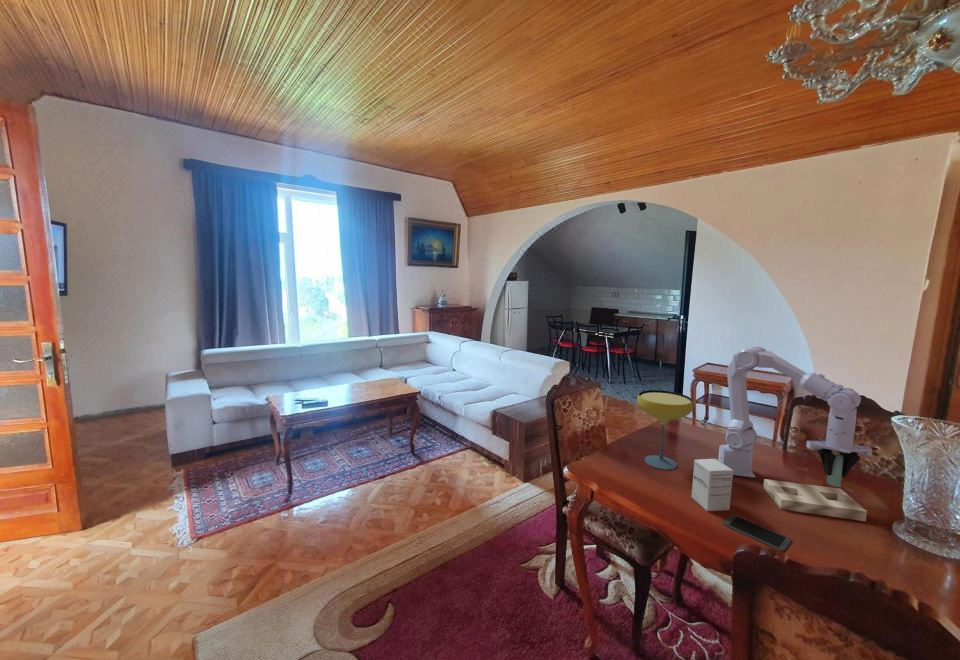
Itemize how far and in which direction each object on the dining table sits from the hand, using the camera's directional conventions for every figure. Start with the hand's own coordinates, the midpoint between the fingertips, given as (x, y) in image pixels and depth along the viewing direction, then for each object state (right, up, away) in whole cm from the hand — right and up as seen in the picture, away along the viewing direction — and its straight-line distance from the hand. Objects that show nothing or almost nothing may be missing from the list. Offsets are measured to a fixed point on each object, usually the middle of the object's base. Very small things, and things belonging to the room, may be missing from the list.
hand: (834, 474), depth 111 cm
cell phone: (-31, -12, -10) cm, 34 cm away
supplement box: (-35, -10, +3) cm, 37 cm away
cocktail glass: (-38, -7, +28) cm, 48 cm away
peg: (0, -3, 0) cm, 3 cm away
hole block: (-5, -10, +3) cm, 11 cm away
